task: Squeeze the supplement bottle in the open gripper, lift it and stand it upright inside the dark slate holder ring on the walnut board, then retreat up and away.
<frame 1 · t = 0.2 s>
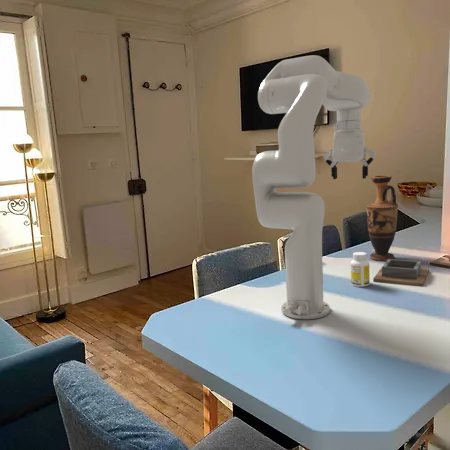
hand: (349, 178, 149), 31 cm above the table, fingers open, 9 cm apart
supplement bottle: (360, 285, 135), on the table
vase: (381, 258, 162), on the table
holder: (401, 276, 140), on the table
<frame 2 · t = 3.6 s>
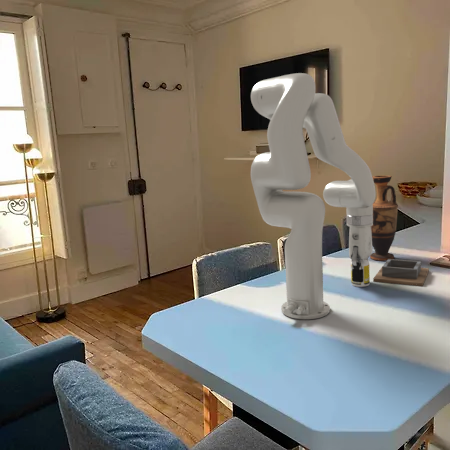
hand: (360, 278, 135), 2 cm above the table, fingers closed on supplement bottle, 5 cm apart
supplement bottle: (360, 285, 135), on the table, touching gripper
everything else where it was.
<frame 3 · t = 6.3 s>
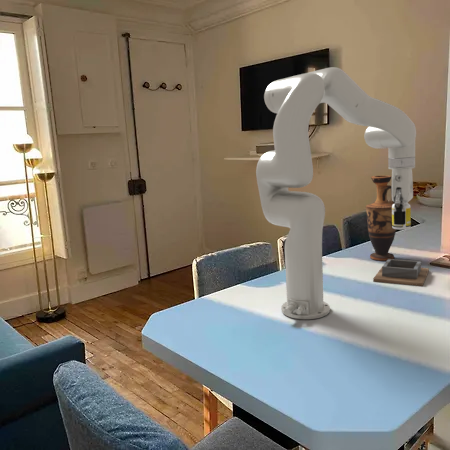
hand: (401, 221, 137), 18 cm above the table, fingers closed on supplement bottle, 5 cm apart
supplement bottle: (401, 228, 138), point 15 cm above the table, touching gripper
everything else where it was.
when the fingers open (4 cm above the table, at t = 9.2 s): supplement bottle drops 1 cm, resting on holder.
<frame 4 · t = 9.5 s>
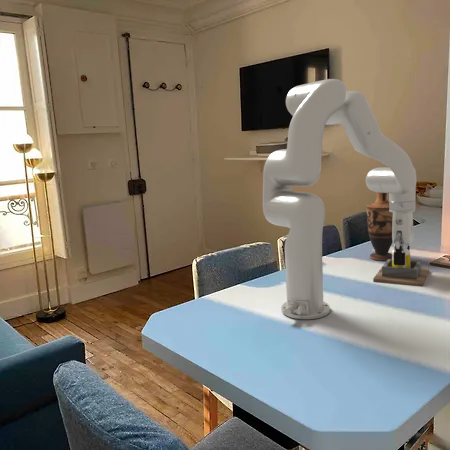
hand: (401, 260, 140), 5 cm above the table, fingers open, 8 cm apart
supplement bottle: (401, 273, 140), point 1 cm above the table, touching holder
everything else where it was.
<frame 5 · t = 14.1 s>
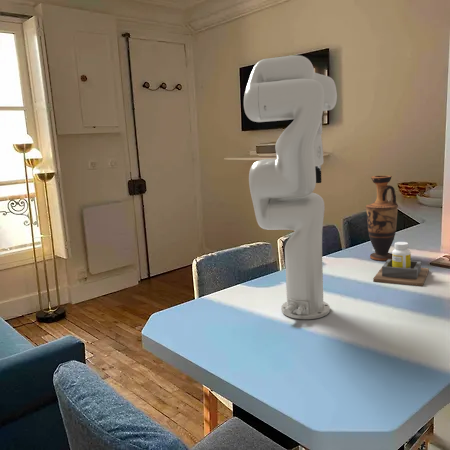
hand: (311, 184, 141), 30 cm above the table, fingers open, 9 cm apart
nothing on the table moved.
at the end: supplement bottle 0.2 cm off-centre on the holder, point 0.8 cm above the holder's base; supplement bottle tilted 0°; the gripper is holding nothing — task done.
